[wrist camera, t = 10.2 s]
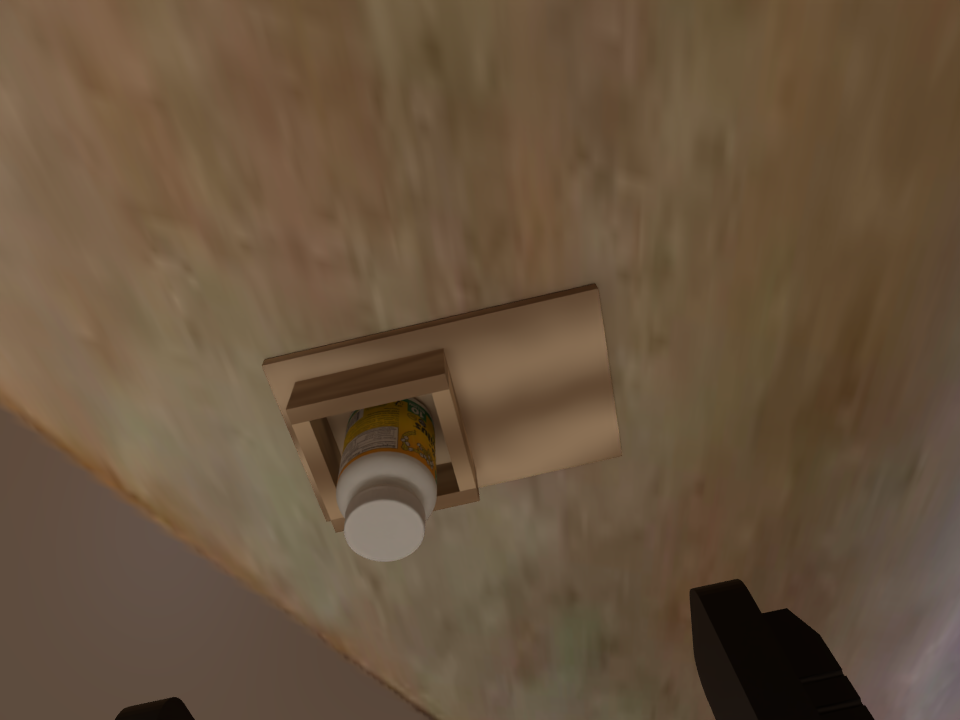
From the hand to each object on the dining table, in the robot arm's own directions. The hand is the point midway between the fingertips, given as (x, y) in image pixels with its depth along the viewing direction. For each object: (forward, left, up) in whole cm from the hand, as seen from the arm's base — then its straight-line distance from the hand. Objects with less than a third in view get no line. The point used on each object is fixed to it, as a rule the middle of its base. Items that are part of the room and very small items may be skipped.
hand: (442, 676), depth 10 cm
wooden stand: (+13, -2, -29) cm, 32 cm away
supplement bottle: (+13, -5, -29) cm, 32 cm away
